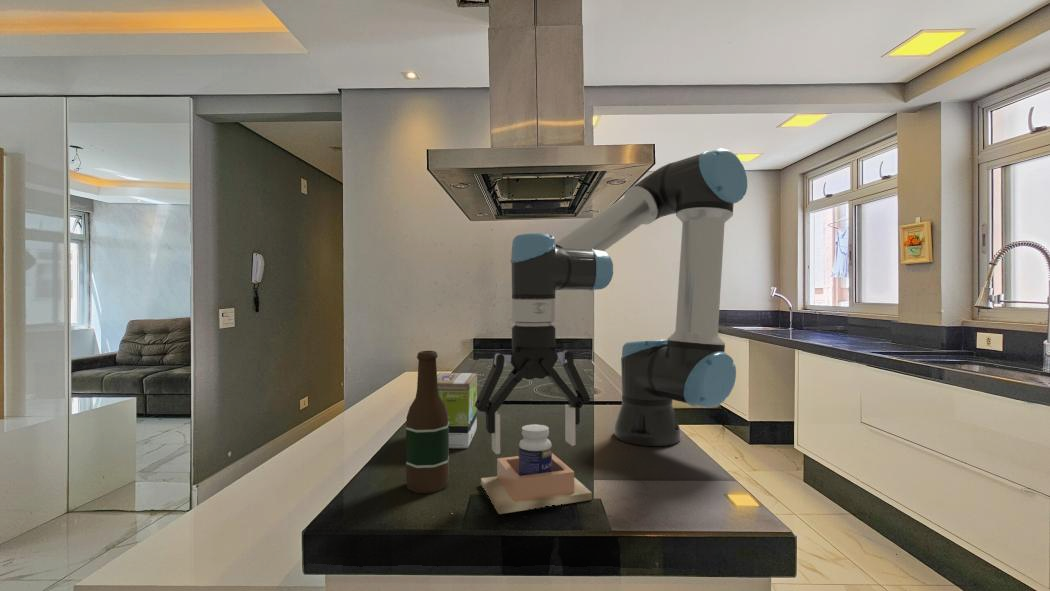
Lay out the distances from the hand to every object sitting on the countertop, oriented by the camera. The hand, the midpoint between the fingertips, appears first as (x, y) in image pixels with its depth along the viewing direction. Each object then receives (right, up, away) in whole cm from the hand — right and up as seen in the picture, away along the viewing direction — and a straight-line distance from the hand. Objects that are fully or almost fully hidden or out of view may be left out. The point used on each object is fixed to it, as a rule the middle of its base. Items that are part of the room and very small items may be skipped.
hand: (534, 447), depth 82 cm
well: (0, -7, 0) cm, 7 cm away
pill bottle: (0, -7, 0) cm, 7 cm away
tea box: (-19, -8, +31) cm, 37 cm away
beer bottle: (-19, -8, +3) cm, 21 cm away
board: (0, -8, 0) cm, 8 cm away
